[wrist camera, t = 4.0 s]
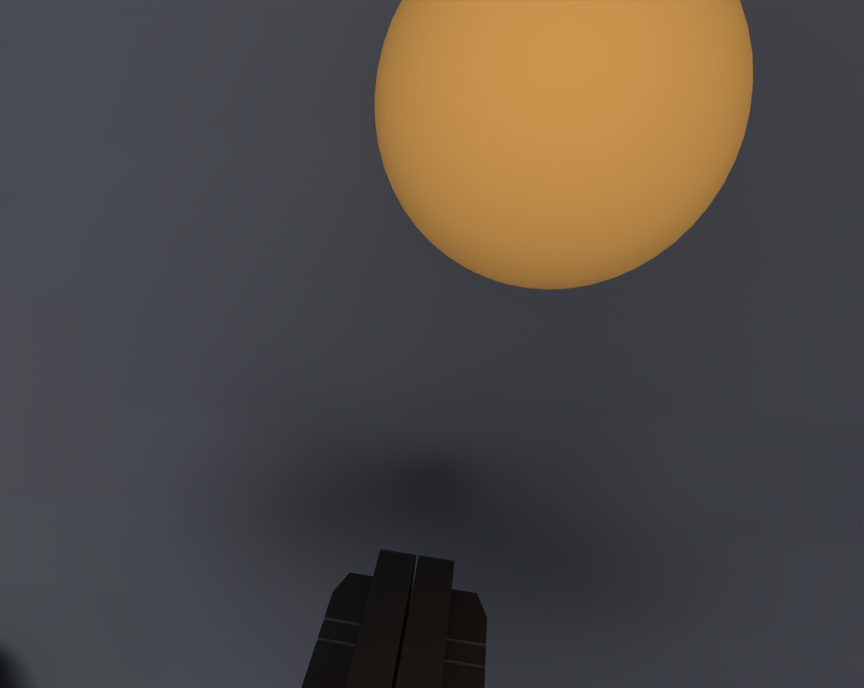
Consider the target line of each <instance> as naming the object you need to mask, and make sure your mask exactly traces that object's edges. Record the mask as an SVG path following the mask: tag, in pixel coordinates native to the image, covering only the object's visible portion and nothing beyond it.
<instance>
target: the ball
mask: <svg viewBox="0 0 864 688" xmlns="http://www.w3.org/2000/svg"><path fill="white" fill-rule="evenodd" d="M752 88H753V56H752V48H751V42H750V36H749V29H748V25H747V22H746V18H745V15H744V12H743V9H742V5H741V2H740V0H402V1H401V3H400V5H399V7H398V9H397V11H396V13H395V15H394V17H393V19H392V21H391V24H390V27H389V30H388V33H387V35H386V38H385V41H384V44H383V48H382V52H381V57H380V61H379V66H378V70H377V79H376V88H375V125H376V132H377V139H378V146H379V150H380V154H381V157H382V161H383V165H384V169H385V171H386V174H387V176H388V179H389V181H390V184H391V186H392V189H393V191H394V193H395V195H396V196H397V198H398V200H399V202H400V204H401V205H402V207H403V209H404V211H405V212H406V213H407V215H408V216H409V217H410V219H411V220H412V222H413V223H414V224H415V226H416V227H417V228H418V229H419V230H420V231H421V233H422V234H423V235H424V236H425V237H426V238H427V239H428V240H429V241H430V242H431V243H432V244H433V245H434V246H435V247H437V248H438V249H439V250H440V251H442V252H443V253H444V254H445V255H446V256H448V257H449V258H451V259H452V260H454V261H455V262H457V263H458V264H460V265H462V266H463V267H465V268H466V269H469V270H471V271H473V272H475V273H477V274H479V275H481V276H484V277H486V278H489V279H492V280H495V281H498V282H501V283H505V284H509V285H514V286H519V287H524V288H533V289H549V290H550V289H567V288H575V287H581V286H586V285H592V284H595V283H599V282H602V281H605V280H609V279H612V278H615V277H617V276H619V275H622V274H624V273H626V272H629V271H631V270H633V269H635V268H637V267H639V266H640V265H642V264H644V263H646V262H647V261H649V260H651V259H652V258H654V257H656V256H657V255H658V254H660V253H661V252H662V251H664V250H665V249H667V248H668V247H669V246H671V245H672V244H673V243H675V242H676V241H677V240H678V239H679V238H680V237H681V236H682V235H683V234H684V233H685V232H686V231H687V230H688V229H689V228H690V227H692V226H693V224H694V223H695V222H696V221H697V220H698V219H699V217H700V216H701V215H702V214H703V213H704V211H705V210H706V209H707V208H708V207H709V205H710V204H711V202H712V201H713V199H714V198H715V196H716V195H717V193H718V192H719V190H720V189H721V187H722V186H723V184H724V182H725V180H726V178H727V176H728V174H729V172H730V170H731V168H732V166H733V164H734V162H735V160H736V157H737V154H738V152H739V149H740V146H741V144H742V141H743V138H744V134H745V130H746V126H747V122H748V117H749V113H750V107H751V97H752Z"/></svg>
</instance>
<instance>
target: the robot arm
mask: <svg viewBox="0 0 864 688" xmlns="http://www.w3.org/2000/svg"><path fill="white" fill-rule="evenodd" d="M415 561H416V555H413V554H407V553H401V552H394V551H388V550H382V549H381V550H380V553H379V557H378V560H377V564H376V568H375V572H374V576H367V575H361V574H355V573H349V574H348V575H347V577H346V578H345V579H344V580H343V581H342V582H341V583H340V584H339V586H338V587H337V588H336V589H335V590H334V591H333V593H332V596H331V599H330V602H329V605H328V608H327V611H326V614H325V619H324V621H323V624H322V627H321V630H320V633H319V636H318V641H317V642H316V645H315V648H314V651H313V654H312V657H311V660H310V664H309V667H308V670H307V673H306V676H305V679H304V682H303V685H302V688H484V685H485V656H486V649H485V647H486V628H487V617H486V614H485V612H484V609H483V607H482V604H481V602H480V599H479V597H478V594H477V593H472V592H466V591H460V590H454V589H452V579H453V569H454V561H451V560H445V559H439V558H433V557H427V556H420V555H419V558H418V563H417V569H416V575H415V580H414V586H413V578H414V570H415ZM412 586H413V592H412ZM411 594H412V597H411Z"/></svg>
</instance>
